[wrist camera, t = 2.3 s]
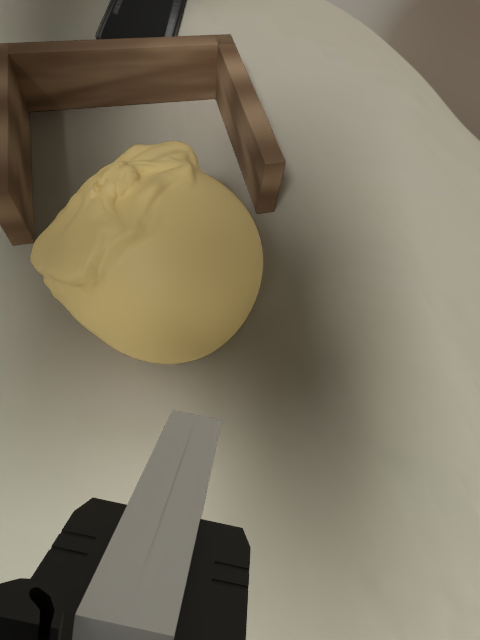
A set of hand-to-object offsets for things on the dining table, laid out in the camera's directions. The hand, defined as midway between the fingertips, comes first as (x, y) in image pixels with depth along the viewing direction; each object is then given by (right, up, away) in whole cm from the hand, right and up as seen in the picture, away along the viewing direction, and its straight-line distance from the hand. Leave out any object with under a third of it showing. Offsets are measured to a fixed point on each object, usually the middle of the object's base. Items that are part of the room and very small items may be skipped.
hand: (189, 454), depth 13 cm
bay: (-7, +18, +23) cm, 30 cm away
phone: (-9, +38, +35) cm, 52 cm away
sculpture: (-4, +5, +17) cm, 18 cm away
